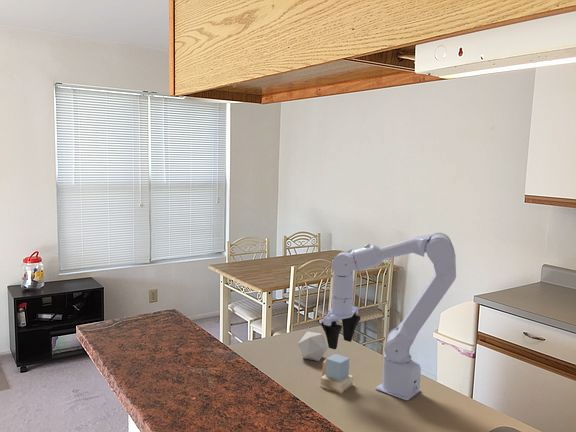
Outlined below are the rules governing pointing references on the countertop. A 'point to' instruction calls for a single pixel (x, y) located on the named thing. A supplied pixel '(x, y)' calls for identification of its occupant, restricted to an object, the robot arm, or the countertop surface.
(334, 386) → the beech base
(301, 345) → the die
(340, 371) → the blue block
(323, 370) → the terracotta block
